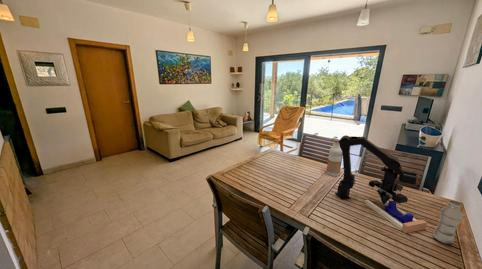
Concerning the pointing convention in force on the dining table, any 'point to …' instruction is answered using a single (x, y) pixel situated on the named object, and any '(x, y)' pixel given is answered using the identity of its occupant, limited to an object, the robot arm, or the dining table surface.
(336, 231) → the dining table surface
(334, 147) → the fruit juice
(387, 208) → the cable clip
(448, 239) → the plastic bottle
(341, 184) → the robot arm
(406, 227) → the guide channel
